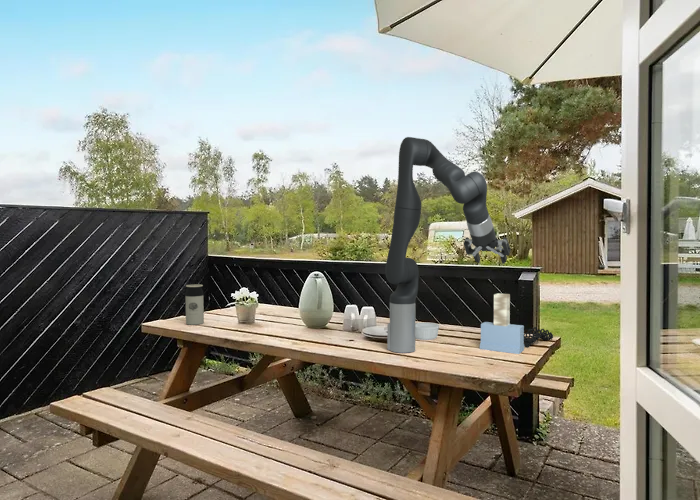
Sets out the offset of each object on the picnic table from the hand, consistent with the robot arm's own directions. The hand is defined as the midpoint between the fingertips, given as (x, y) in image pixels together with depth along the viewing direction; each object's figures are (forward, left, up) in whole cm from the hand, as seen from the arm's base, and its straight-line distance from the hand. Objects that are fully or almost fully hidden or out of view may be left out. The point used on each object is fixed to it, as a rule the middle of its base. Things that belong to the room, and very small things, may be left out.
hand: (491, 261), depth 168 cm
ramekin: (-32, +18, -33) cm, 49 cm away
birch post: (0, +14, -24) cm, 27 cm away
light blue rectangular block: (0, +14, -33) cm, 35 cm away
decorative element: (+8, +30, -33) cm, 46 cm away
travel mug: (-135, -11, -33) cm, 139 cm away
